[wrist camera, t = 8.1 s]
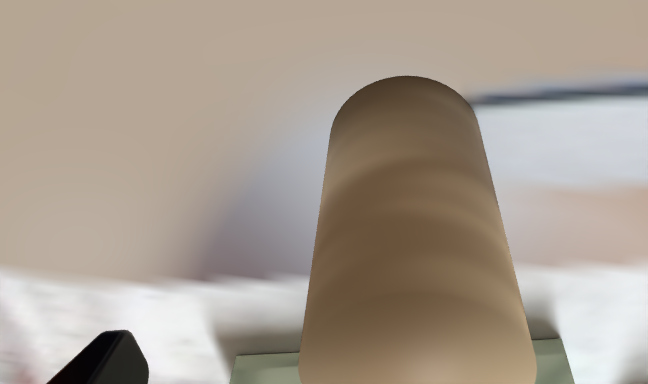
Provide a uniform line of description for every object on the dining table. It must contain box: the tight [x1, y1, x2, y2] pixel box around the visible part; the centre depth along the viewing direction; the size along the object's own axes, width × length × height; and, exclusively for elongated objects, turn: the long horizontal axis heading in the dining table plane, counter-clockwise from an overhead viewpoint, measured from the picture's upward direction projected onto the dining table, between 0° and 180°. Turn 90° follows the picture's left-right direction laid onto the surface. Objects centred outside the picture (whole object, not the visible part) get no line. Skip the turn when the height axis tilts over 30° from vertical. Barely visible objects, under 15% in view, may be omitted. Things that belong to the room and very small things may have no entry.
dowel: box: [298, 76, 537, 384], centre depth 11 cm, size 3×3×6 cm
